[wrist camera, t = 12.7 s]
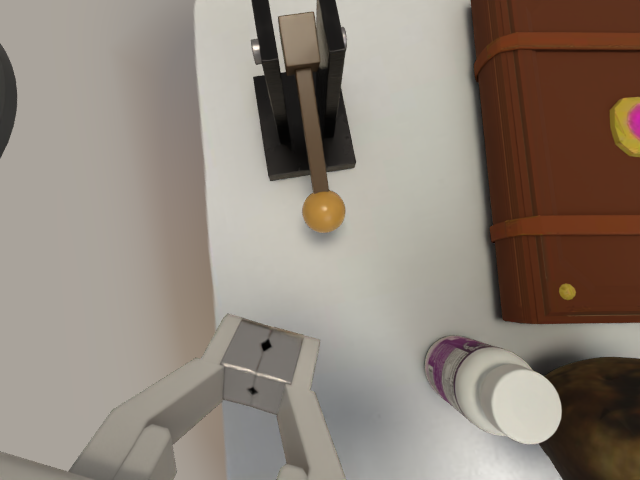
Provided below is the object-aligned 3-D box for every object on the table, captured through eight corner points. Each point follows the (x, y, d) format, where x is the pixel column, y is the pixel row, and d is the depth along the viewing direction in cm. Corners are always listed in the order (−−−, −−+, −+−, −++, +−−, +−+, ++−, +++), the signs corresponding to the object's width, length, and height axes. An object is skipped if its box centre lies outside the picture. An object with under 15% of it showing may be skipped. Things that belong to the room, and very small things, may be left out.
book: (675, 9, 33) (738, -40, 28) (742, 315, 28) (832, 321, 23) (461, 7, 33) (487, -43, 28) (491, 319, 28) (529, 325, 23)
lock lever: (344, 224, 26) (351, 233, 22) (305, 230, 25) (307, 241, 22) (318, 27, 22) (322, 6, 19) (272, 34, 22) (269, 14, 19)
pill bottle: (492, 349, 27) (587, 380, 18) (473, 410, 27) (562, 476, 17) (434, 324, 28) (497, 342, 18) (413, 384, 27) (468, 435, 17)
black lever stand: (354, 167, 30) (380, 89, 18) (270, 181, 29) (242, 109, 18) (335, 73, 31) (348, -56, 20) (255, 84, 31) (220, -40, 19)
